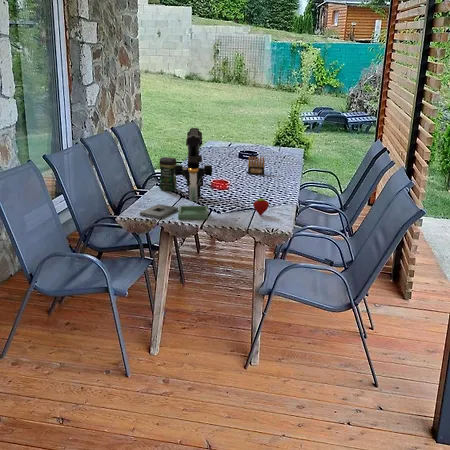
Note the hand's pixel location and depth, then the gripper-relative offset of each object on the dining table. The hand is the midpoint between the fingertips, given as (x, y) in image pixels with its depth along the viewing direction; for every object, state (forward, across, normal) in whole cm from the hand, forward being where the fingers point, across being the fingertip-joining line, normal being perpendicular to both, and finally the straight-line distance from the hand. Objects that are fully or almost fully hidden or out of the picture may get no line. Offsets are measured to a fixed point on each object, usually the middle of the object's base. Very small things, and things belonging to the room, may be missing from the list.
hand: (193, 184), depth 262 cm
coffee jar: (-19, -15, +39) cm, 46 cm away
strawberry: (+15, +33, +4) cm, 37 cm away
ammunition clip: (-46, +39, +66) cm, 89 cm away
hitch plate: (+12, -17, +7) cm, 22 cm away
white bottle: (+5, 0, +7) cm, 8 cm away
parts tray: (+14, 0, +4) cm, 15 cm away
